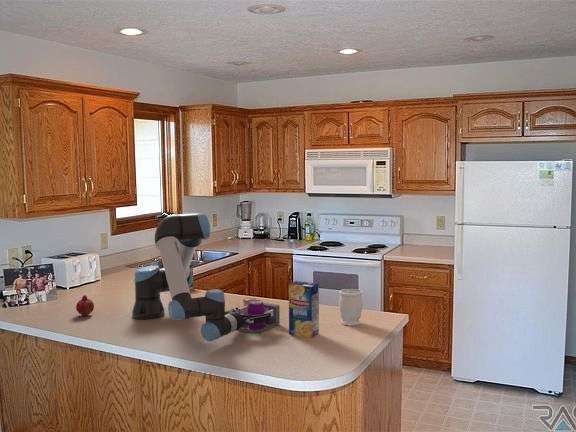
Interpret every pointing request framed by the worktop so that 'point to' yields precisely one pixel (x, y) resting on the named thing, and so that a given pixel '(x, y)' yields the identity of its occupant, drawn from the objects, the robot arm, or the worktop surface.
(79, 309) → the fruit
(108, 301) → the worktop surface
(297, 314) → the beverage box
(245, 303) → the cup
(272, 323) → the checker cradle
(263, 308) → the beverage can
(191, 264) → the coffee can
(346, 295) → the jar
